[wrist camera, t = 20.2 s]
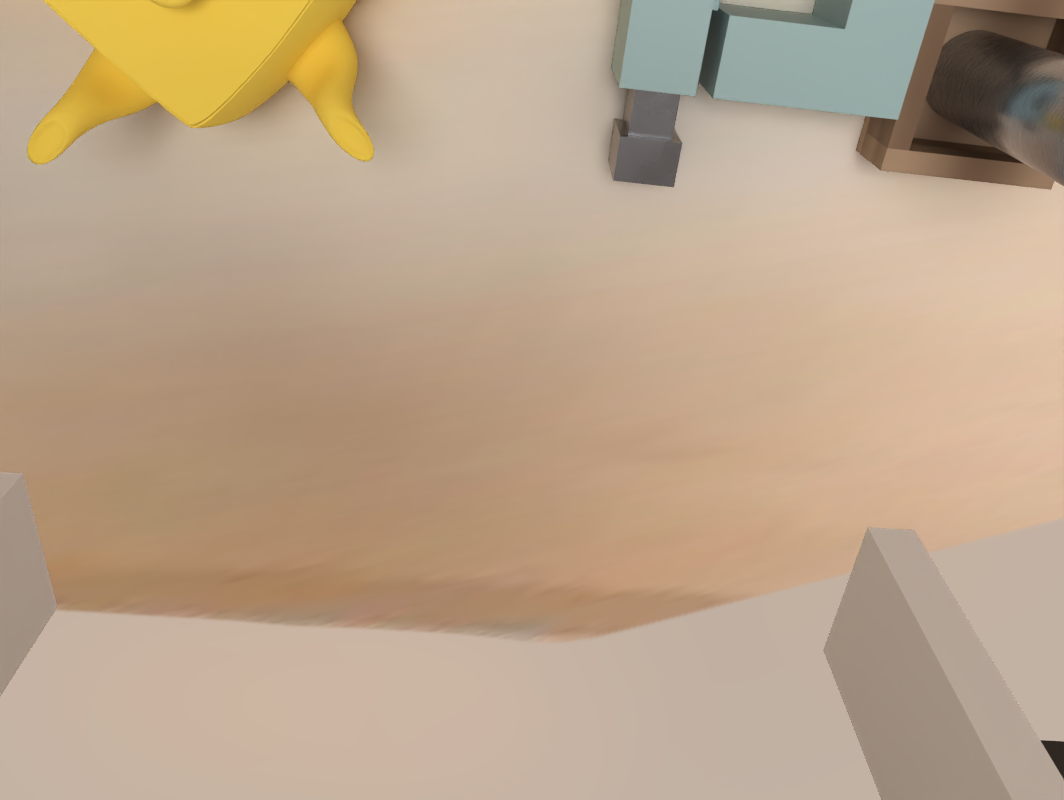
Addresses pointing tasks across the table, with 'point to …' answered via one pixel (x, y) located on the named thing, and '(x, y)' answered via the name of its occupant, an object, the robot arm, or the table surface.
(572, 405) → the table surface
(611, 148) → the block
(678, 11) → the chuck block
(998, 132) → the cylinder
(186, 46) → the teapot
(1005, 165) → the brown wooden tray
